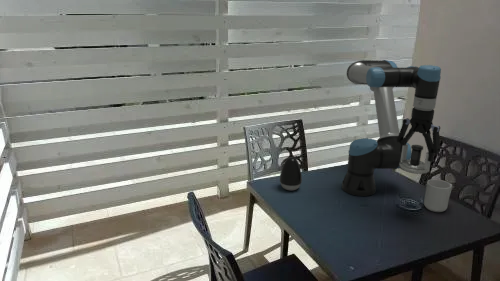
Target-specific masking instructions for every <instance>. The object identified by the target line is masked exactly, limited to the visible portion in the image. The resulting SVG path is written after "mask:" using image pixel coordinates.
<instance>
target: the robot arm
mask: <svg viewBox="0 0 500 281" xmlns="http://www.w3.org/2000/svg"><path fill="white" fill-rule="evenodd" d="M441 74H442V69H441V67H440V66H438V65H433V64H432V65H431V64H429V65H428V64H427V65H426V64H424V65H420V66H419V67H418V66H413V65H411V66H407V67H398V66H397V63H396V62H394V61H392V60H387V59H383V60H375V59H374V60H373V59H372V60H365V59H363V60H357V61H354V62H352V63H351V64H350V65H349V66H348V67H347V68H346V77H347V79H348V80H349V81H350V82H351V83H353V84H355V85H364V86H365V85H366V86H368V87H369V90H371V92H373V96H374V103H375V110H376V118H377V126H378V132H379V133H378V134H379V138H378V139H377V140H376V139H373V138H367V137H366V138H364V137H363V138H358V139H354V140H353V141H351V142H350V144H349V149H348V160H347V171H346V174H345V175H344V178H343V180H342V182H341V189H342V190H343V191H344V192H345V193H347V194H350V195H353V196H357V197H358V196H359V197H369V196H372V195H374V194H375V193H376V191H377V185H376V181H375V176H374V175H375V174H374V173H375V169H377V170H382V169H383V170H384V169H385V170H386V169H388V170H389V169H390V170H393V169H394V170H397V169H400V168H399V163H400V162H401V161H404V160H408V159H411V153H412V148H411V146H412V145H411V144H410V143H409V141H410V140H411V138H412V136H413V135H414V134H415V133H419V134H422V137H423V138H424V141H425V145H426V148H427V151H428V152H426V153H425V159H424V163H425V164H424V169H425V170H426V169H428V168H429V167H430V168H431V162H433V161H434V157H435V154H437V153H440V152H441V141H440V132H441V131H440V130H441V126H440V125H435V124H433V120H434V116H435V115H434V114H435V109H436V104H437V98H438V97H437V96H438V92H439V86H440V81H441ZM394 88H414V96H413V102H412V103H413V104H412V106H413V107H412V109H411V116H410V118H408V117H407V118H403V119H402V126H401V128H399V122H398V116H397V109H396V102H395V97H394V91H393V90H394ZM409 125H410V126H411V127H410V129H409V130H408V128H409ZM430 129H431V130H430ZM407 130H408V132H407ZM431 131H432V135H431ZM400 170H401V169H400Z"/></svg>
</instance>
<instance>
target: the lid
mask: <svg viewBox="0 0 500 281" xmlns="http://www.w3.org/2000/svg"><path fill="white" fill-rule="evenodd" d="M410 146H411V159H408V160H404V161H401V162H400V163H399V168H400V170H401V171H403V172H406V173H409V174H410V173H411V174H415V175H423V174H427V173H429V172H430V169H431V166H430V167H429V168H428V169H426V170H425V169H424V164H425V161H421V156H422V151H423V150H424V146H423V145H420V144H412V145H410Z"/></svg>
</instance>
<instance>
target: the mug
mask: <svg viewBox="0 0 500 281" xmlns="http://www.w3.org/2000/svg"><path fill="white" fill-rule="evenodd" d="M452 187H453V184H452V183H450V182H448V181H445V180H442V179H433V178H432V179H428V180H427V182H426V188H425V194H424V201H423V204H424V207H425V208H426V209H427V210H428V211H431V212H435V213H443V212H445V211H447V209H448V205H449V201H450V196H451V192H452V189H453V188H452Z"/></svg>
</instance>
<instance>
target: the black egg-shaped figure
mask: <svg viewBox="0 0 500 281" xmlns="http://www.w3.org/2000/svg"><path fill="white" fill-rule="evenodd" d="M302 176H303V175H302V170H301V166H300V164H299V161H298V156H297V155H295V156H294V157H293V156H289V157H287V159H285V161H284V163H283V165H282V167H281V170H280V174H279V183H280V185H281V187H282V188H283V189H284V190H287V191H296V190H297V189H299V188H300V187H301V184H302V182H303V178H302Z"/></svg>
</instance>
